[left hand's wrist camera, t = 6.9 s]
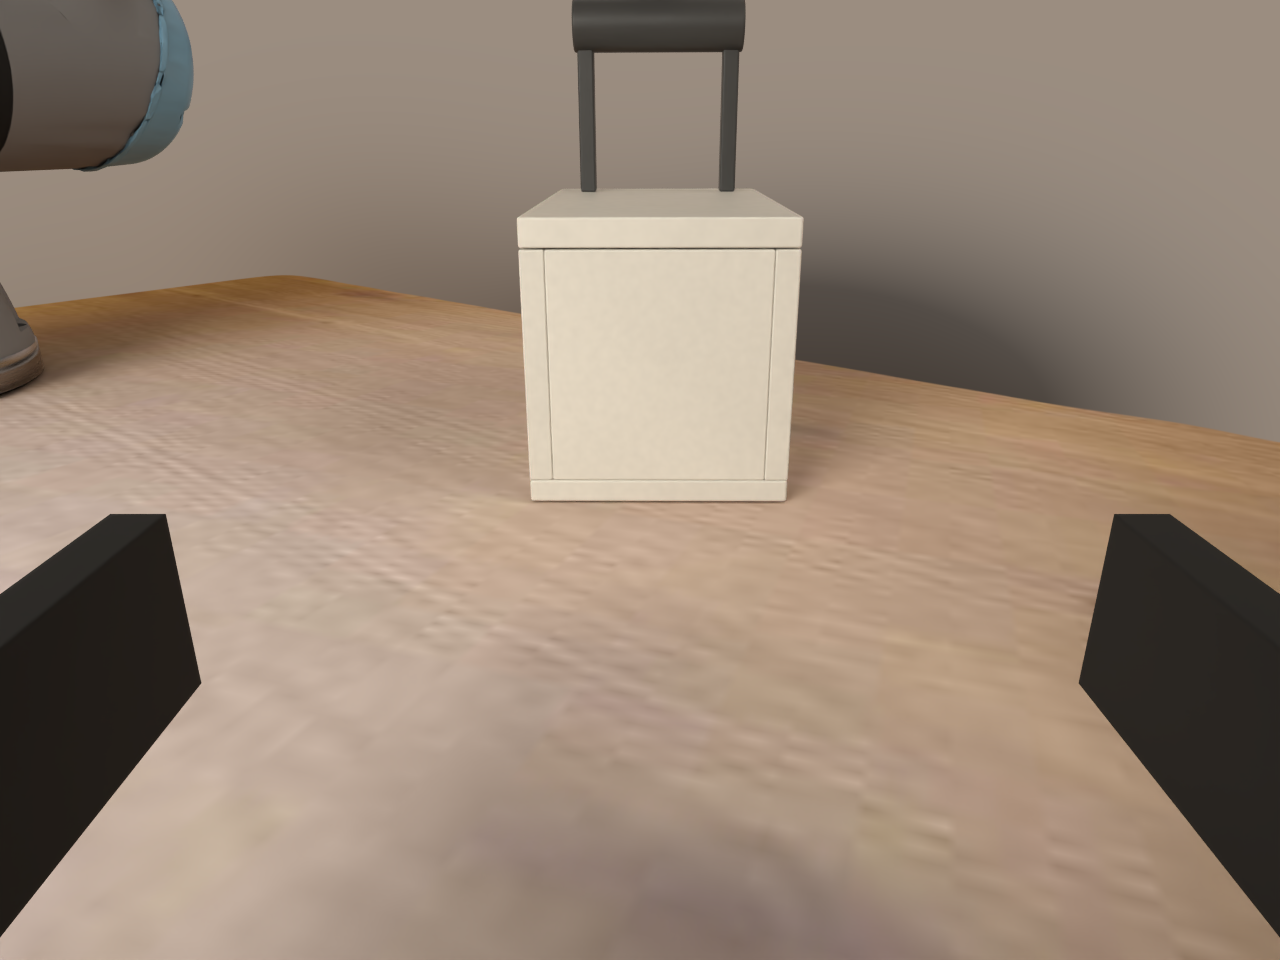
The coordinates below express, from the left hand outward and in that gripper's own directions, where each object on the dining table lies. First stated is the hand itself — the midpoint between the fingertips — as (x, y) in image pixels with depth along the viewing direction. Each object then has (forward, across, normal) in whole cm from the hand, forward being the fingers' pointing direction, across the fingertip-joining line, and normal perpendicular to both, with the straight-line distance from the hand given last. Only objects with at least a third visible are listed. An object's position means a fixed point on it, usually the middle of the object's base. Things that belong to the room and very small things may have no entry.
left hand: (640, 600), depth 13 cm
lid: (+27, +1, +2) cm, 27 cm away
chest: (+26, +1, -7) cm, 27 cm away
